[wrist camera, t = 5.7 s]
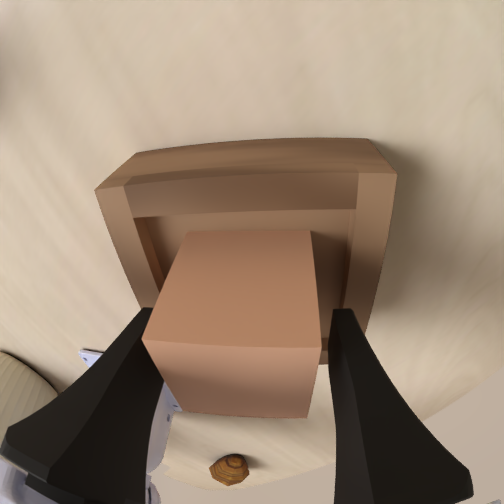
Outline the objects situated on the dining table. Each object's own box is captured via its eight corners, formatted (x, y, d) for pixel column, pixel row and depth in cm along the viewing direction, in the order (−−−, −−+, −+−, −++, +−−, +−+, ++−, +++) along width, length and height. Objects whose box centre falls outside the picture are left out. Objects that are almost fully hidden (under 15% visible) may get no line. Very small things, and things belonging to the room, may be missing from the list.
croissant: (214, 447, 38) (209, 477, 34) (259, 454, 38) (256, 483, 34) (207, 463, 46) (204, 486, 42) (243, 469, 47) (241, 492, 43)
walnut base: (347, 309, 17) (356, 362, 14) (182, 309, 19) (166, 359, 16) (367, 138, 11) (397, 173, 8) (136, 152, 13) (94, 189, 10)
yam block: (304, 315, 14) (306, 418, 10) (206, 313, 14) (182, 410, 10) (310, 230, 11) (321, 347, 7) (187, 231, 11) (141, 339, 7)
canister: (2, 326, 25) (-65, 475, 8) (102, 411, 34) (65, 539, 18) (-30, 337, 30) (-79, 438, 14) (44, 403, 40) (11, 497, 23)
